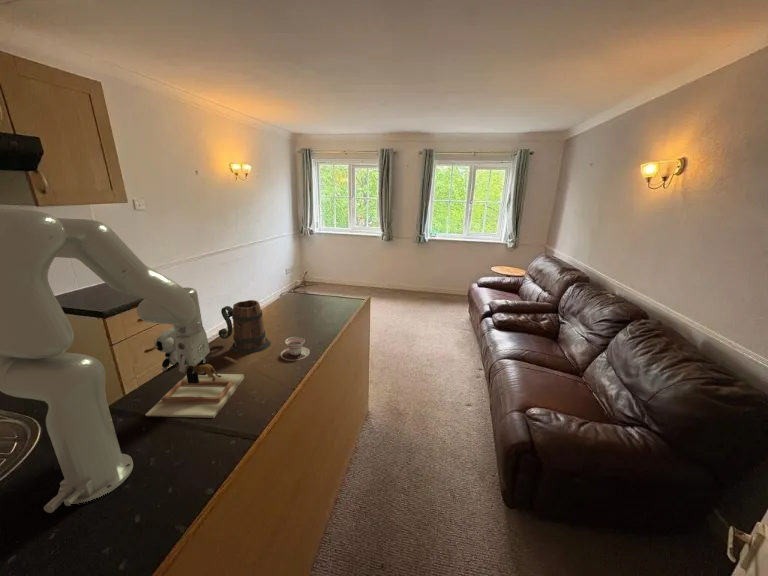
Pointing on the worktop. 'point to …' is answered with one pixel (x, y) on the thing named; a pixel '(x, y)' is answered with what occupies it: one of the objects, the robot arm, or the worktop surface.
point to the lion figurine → (205, 370)
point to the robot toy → (167, 347)
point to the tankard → (245, 327)
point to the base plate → (197, 397)
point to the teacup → (296, 347)
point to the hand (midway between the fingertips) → (197, 378)
